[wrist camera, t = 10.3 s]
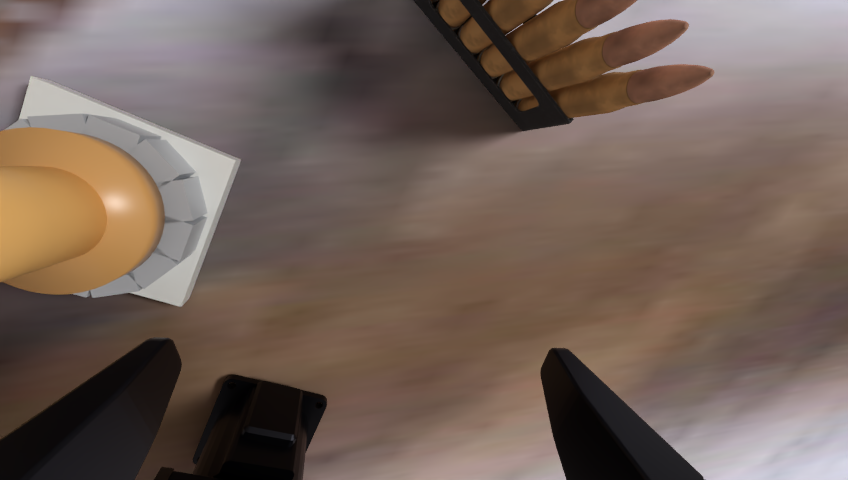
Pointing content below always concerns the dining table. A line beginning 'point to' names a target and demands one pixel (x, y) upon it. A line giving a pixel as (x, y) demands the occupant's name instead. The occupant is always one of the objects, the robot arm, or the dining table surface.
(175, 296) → the housing
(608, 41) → the ammunition clip
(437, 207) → the dining table surface
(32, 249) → the tan peg
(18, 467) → the robot arm
